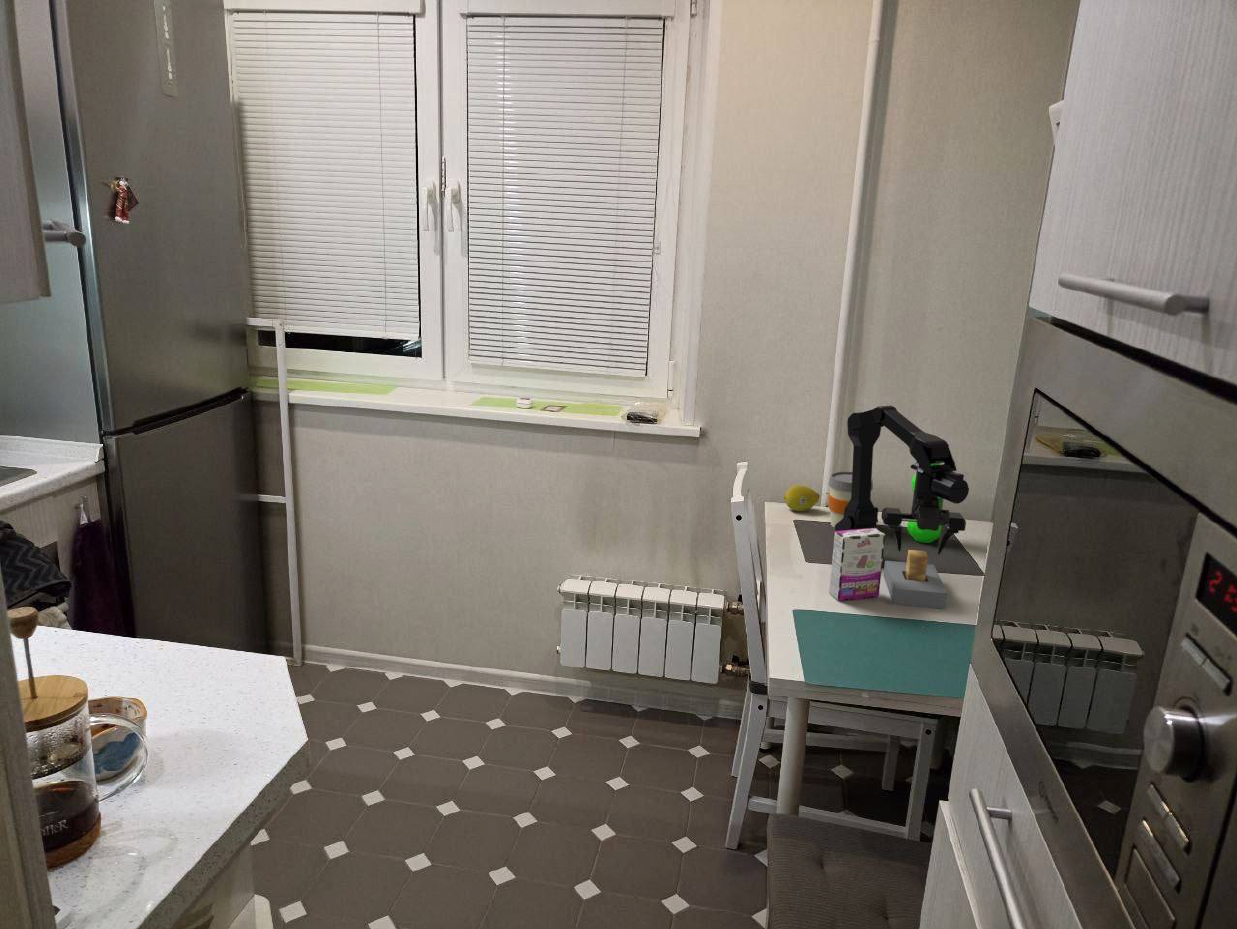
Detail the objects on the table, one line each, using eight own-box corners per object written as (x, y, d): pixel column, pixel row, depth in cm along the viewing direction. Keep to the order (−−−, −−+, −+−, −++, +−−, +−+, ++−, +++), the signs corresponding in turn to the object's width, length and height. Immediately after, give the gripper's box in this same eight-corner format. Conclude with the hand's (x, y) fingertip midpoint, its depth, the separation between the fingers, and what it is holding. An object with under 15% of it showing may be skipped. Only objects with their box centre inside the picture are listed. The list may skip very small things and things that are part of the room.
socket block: (893, 604, 214) (895, 588, 213) (883, 575, 232) (885, 560, 230) (945, 608, 213) (947, 593, 212) (931, 579, 230) (933, 564, 229)
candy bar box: (868, 589, 222) (875, 527, 218) (879, 598, 218) (886, 534, 213) (827, 593, 219) (834, 529, 215) (837, 601, 215) (844, 537, 210)
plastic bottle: (914, 530, 265) (925, 448, 258) (948, 540, 258) (960, 456, 251) (898, 538, 258) (908, 454, 251) (932, 548, 251) (944, 462, 244)
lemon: (781, 512, 278) (783, 487, 275) (784, 504, 285) (786, 480, 283) (816, 516, 275) (819, 491, 273) (818, 509, 282) (821, 484, 280)
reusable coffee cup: (816, 520, 271) (821, 472, 267) (853, 517, 275) (858, 470, 271) (838, 534, 260) (843, 484, 256) (876, 531, 264) (882, 482, 260)
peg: (906, 593, 221) (911, 555, 218) (903, 587, 224) (908, 549, 222) (922, 595, 220) (928, 557, 217) (920, 588, 224) (925, 551, 221)
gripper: (891, 498, 209) (883, 561, 213) (975, 504, 206) (965, 568, 210) (884, 484, 219) (877, 544, 223) (964, 490, 217) (956, 551, 221)
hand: (918, 552), depth 219 cm, fingers open, 9 cm apart
